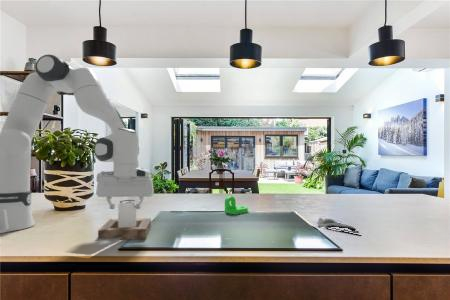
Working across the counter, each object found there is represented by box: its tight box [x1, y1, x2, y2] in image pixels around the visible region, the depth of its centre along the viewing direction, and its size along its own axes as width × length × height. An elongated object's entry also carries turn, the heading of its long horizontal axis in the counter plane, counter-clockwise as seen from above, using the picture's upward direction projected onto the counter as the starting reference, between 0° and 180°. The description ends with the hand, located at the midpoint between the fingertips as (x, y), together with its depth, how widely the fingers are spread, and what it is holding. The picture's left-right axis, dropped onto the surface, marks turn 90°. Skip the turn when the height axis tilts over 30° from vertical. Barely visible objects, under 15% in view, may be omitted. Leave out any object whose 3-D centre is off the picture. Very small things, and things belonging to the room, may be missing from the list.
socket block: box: [97, 217, 152, 241], centre depth 110 cm, size 16×16×4 cm
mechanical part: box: [224, 196, 249, 215], centre depth 150 cm, size 12×6×8 cm, turn 130°
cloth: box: [316, 217, 357, 233], centre depth 123 cm, size 26×14×2 cm, turn 3°
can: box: [117, 199, 137, 228], centre depth 111 cm, size 6×6×12 cm
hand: (125, 208), depth 110 cm, fingers open, 8 cm apart
